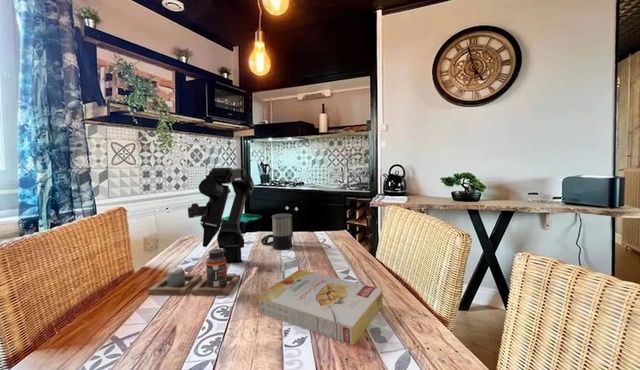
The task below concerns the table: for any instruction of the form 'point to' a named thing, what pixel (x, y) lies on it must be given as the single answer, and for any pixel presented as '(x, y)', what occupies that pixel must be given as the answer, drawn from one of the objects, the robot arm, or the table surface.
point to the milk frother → (281, 232)
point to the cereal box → (322, 304)
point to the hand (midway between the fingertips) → (204, 246)
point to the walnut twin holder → (198, 289)
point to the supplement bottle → (216, 269)
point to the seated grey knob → (176, 277)
